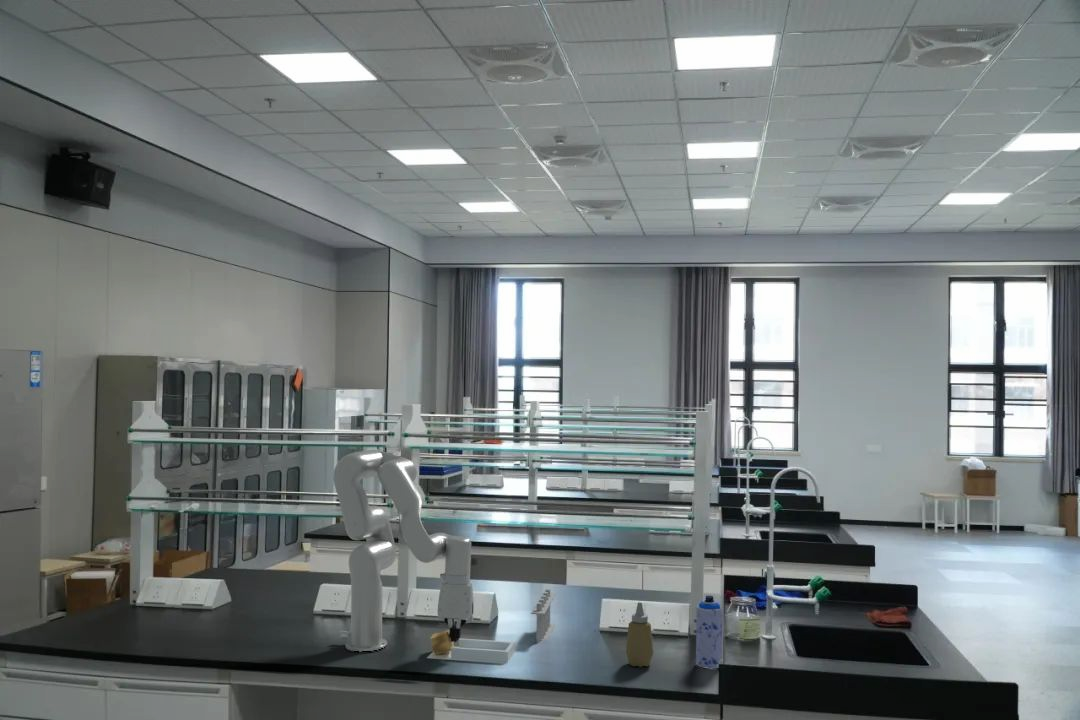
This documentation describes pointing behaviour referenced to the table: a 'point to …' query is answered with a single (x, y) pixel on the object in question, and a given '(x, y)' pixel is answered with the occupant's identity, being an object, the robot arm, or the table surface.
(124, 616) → the table surface
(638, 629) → the squeeze bottle
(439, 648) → the block
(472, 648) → the channel
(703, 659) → the aerosol can
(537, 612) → the test tube rack
